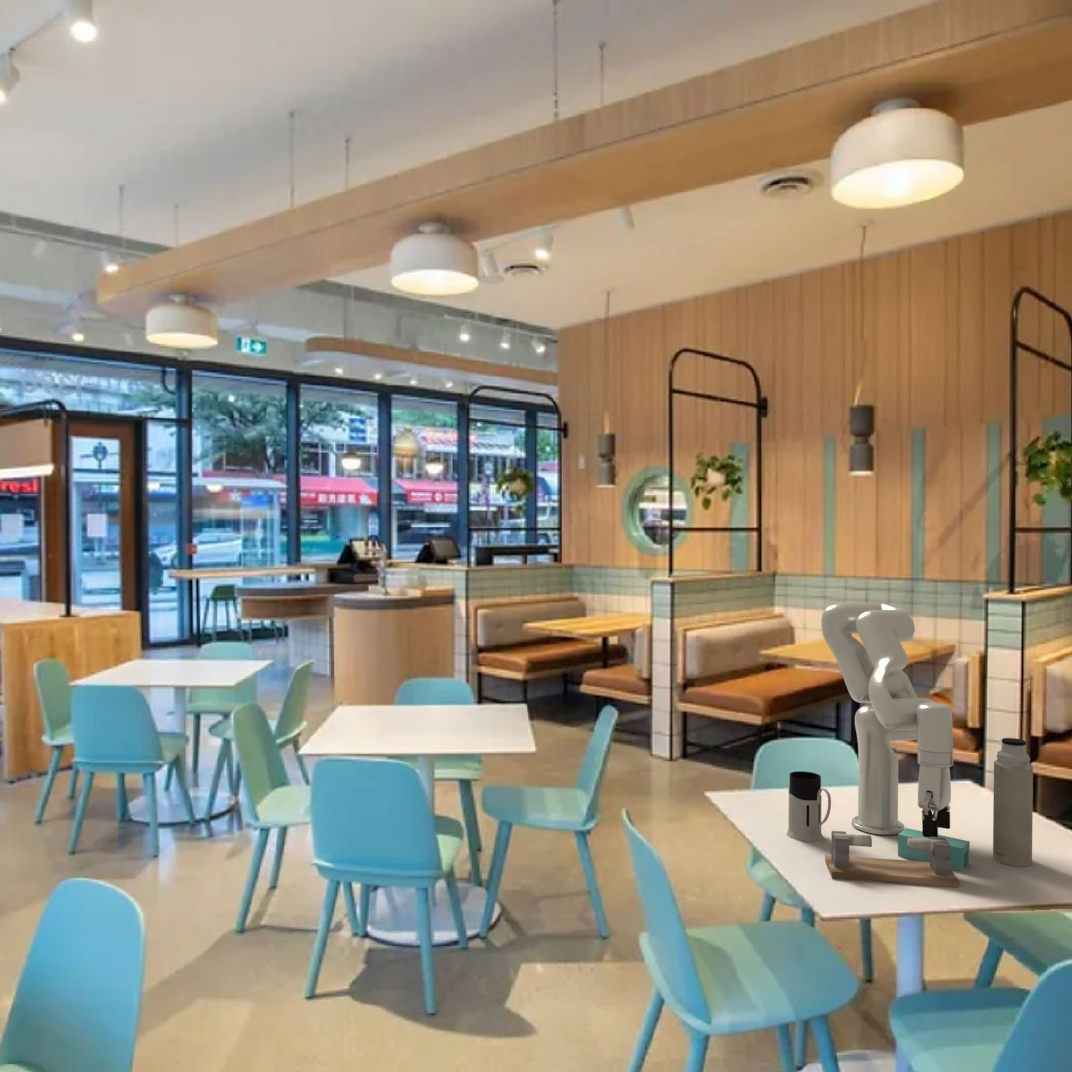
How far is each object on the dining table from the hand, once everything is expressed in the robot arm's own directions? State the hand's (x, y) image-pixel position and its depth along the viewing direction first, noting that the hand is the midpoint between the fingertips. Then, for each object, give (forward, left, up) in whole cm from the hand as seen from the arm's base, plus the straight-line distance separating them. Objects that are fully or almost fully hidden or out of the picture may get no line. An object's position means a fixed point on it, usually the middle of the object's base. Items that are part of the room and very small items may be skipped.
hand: (936, 832), depth 204 cm
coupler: (-1, 0, -7) cm, 7 cm away
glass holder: (-10, -26, -7) cm, 29 cm away
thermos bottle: (-4, +18, -7) cm, 19 cm away
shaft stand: (+10, -12, -7) cm, 17 cm away
